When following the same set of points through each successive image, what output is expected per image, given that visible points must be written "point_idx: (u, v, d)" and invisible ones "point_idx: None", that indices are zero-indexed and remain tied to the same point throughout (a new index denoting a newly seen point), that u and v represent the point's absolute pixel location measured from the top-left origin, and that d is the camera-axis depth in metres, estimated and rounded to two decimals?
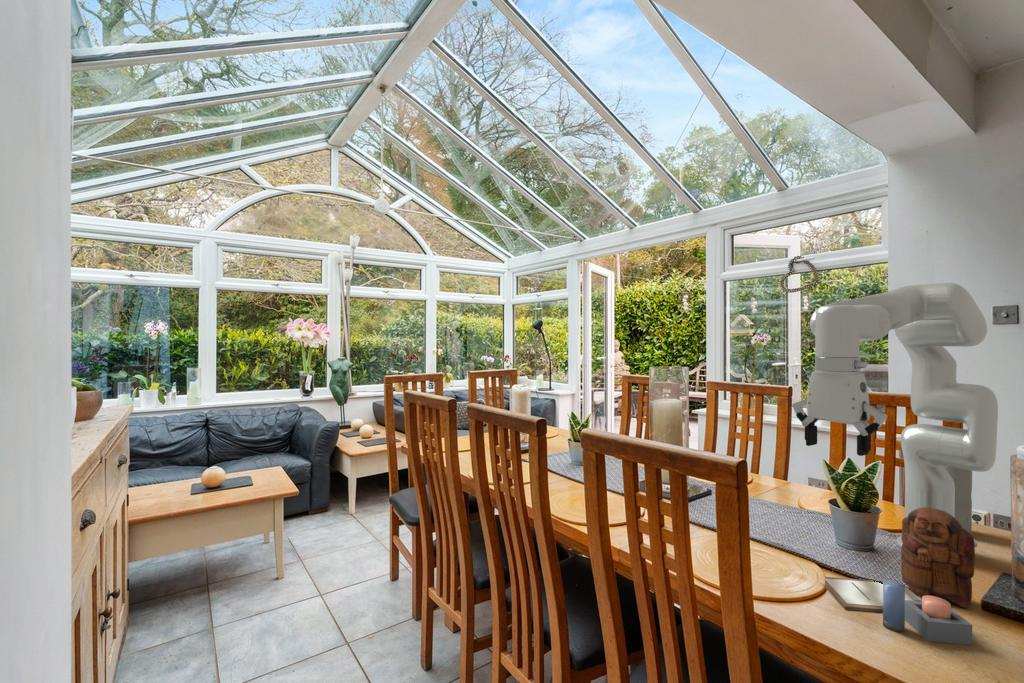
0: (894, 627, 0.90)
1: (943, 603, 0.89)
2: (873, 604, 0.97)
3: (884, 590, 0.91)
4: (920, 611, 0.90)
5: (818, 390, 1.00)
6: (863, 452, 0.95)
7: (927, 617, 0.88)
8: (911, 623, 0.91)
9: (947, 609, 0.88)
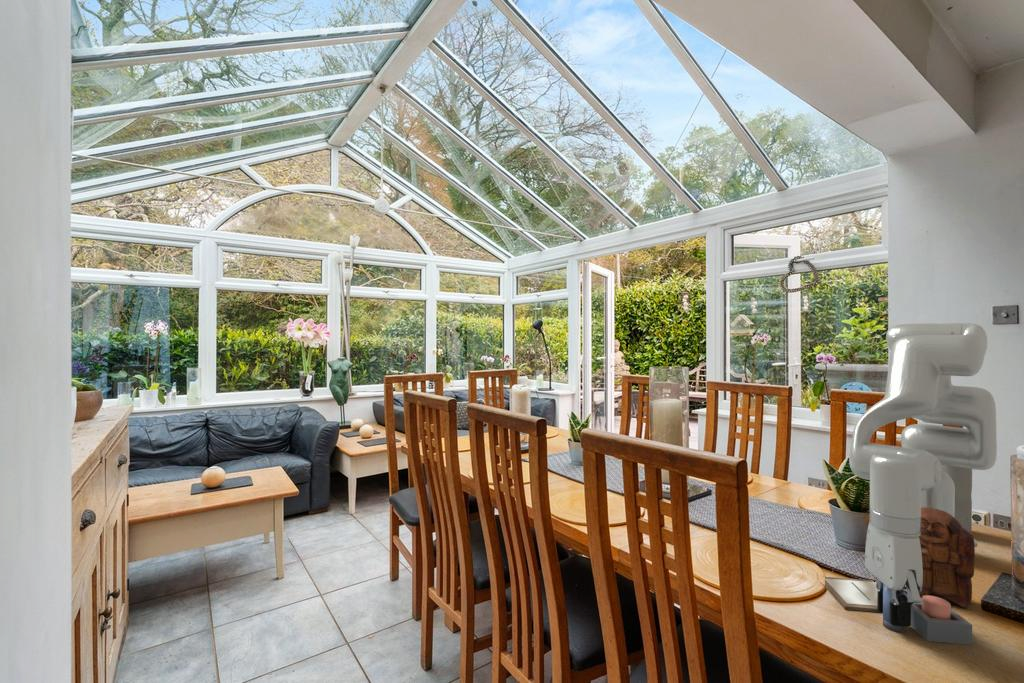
0: (894, 627, 0.90)
1: (943, 603, 0.89)
2: (873, 604, 0.97)
3: (884, 590, 0.91)
4: (920, 611, 0.90)
5: None
6: None
7: (927, 617, 0.88)
8: (911, 623, 0.91)
9: (947, 609, 0.88)
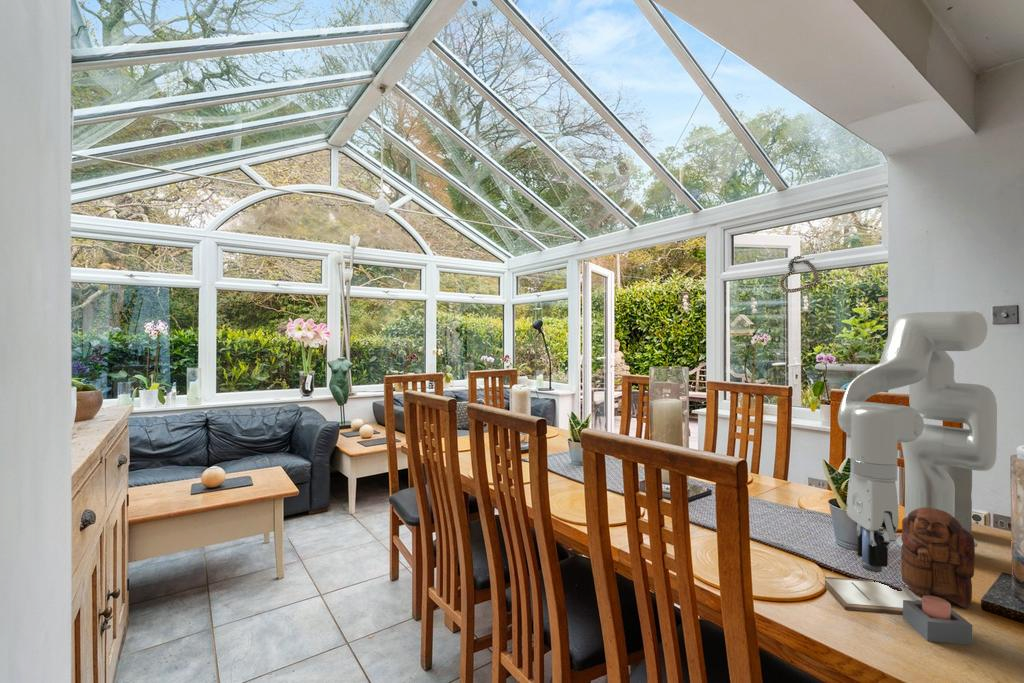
0: (872, 568, 0.96)
1: (943, 603, 0.89)
2: (873, 604, 0.97)
3: (863, 534, 0.98)
4: (920, 611, 0.90)
5: None
6: None
7: (927, 617, 0.88)
8: (911, 623, 0.91)
9: (947, 609, 0.88)
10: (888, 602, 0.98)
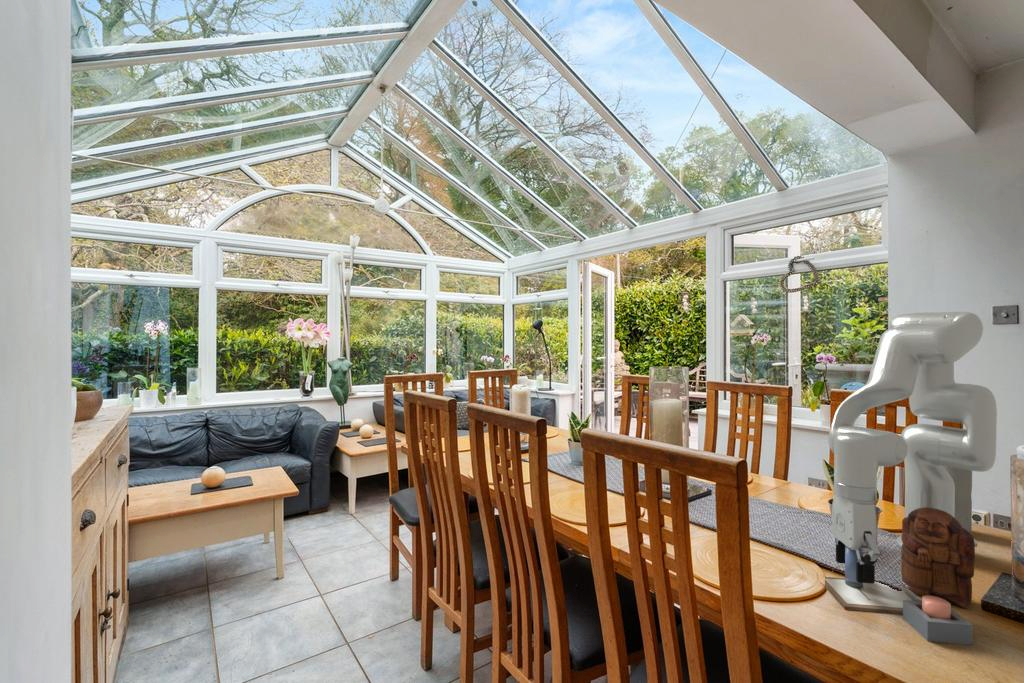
0: (854, 584, 1.03)
1: (943, 603, 0.89)
2: (873, 604, 0.97)
3: (846, 552, 1.05)
4: (920, 611, 0.90)
5: None
6: None
7: (927, 617, 0.88)
8: (911, 623, 0.91)
9: (947, 609, 0.88)
10: (888, 602, 0.98)
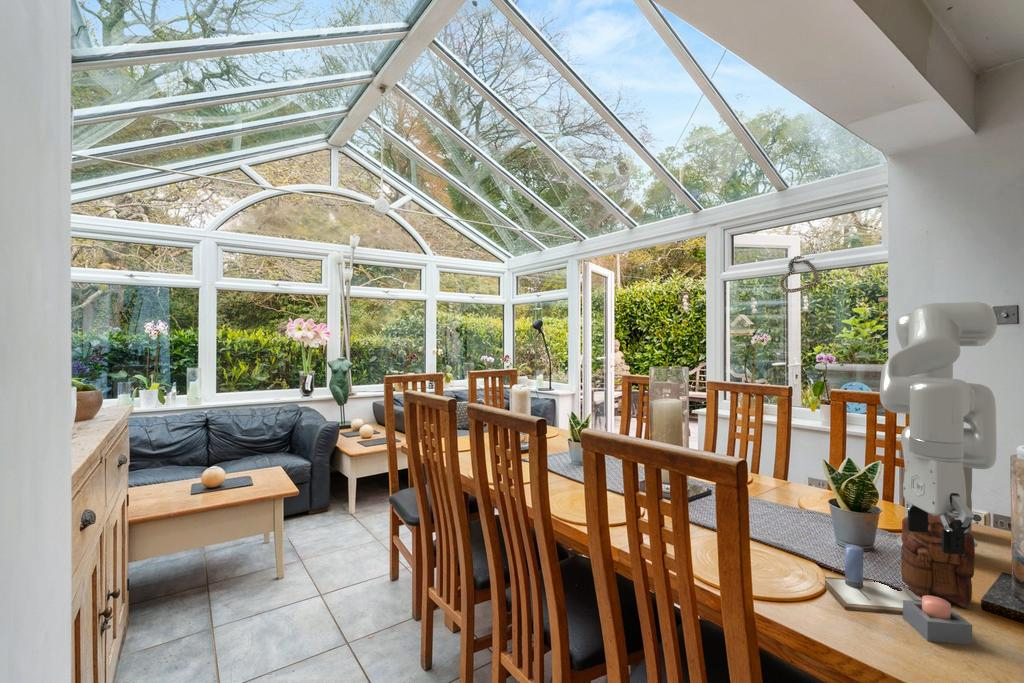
0: (854, 584, 1.03)
1: (943, 603, 0.89)
2: (873, 604, 0.97)
3: (846, 552, 1.05)
4: (920, 611, 0.90)
5: None
6: None
7: (927, 617, 0.88)
8: (911, 623, 0.91)
9: (947, 609, 0.88)
10: (888, 602, 0.98)
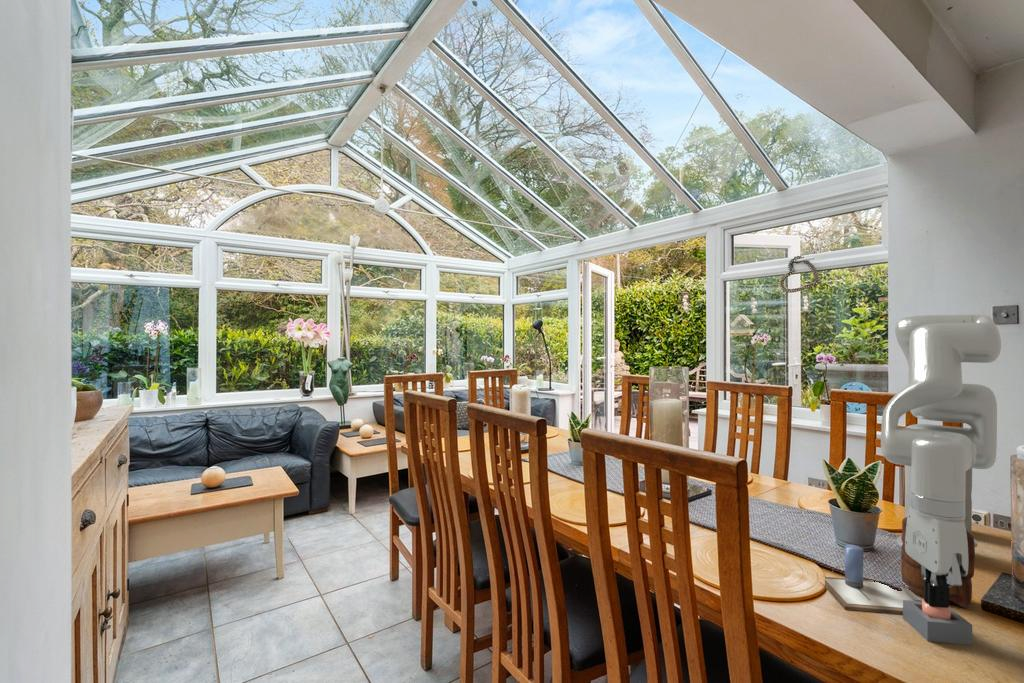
0: (854, 584, 1.03)
1: None
2: (873, 604, 0.97)
3: (846, 552, 1.05)
4: (920, 611, 0.90)
5: None
6: None
7: (927, 617, 0.88)
8: (911, 623, 0.91)
9: (947, 612, 0.88)
10: (888, 602, 0.98)
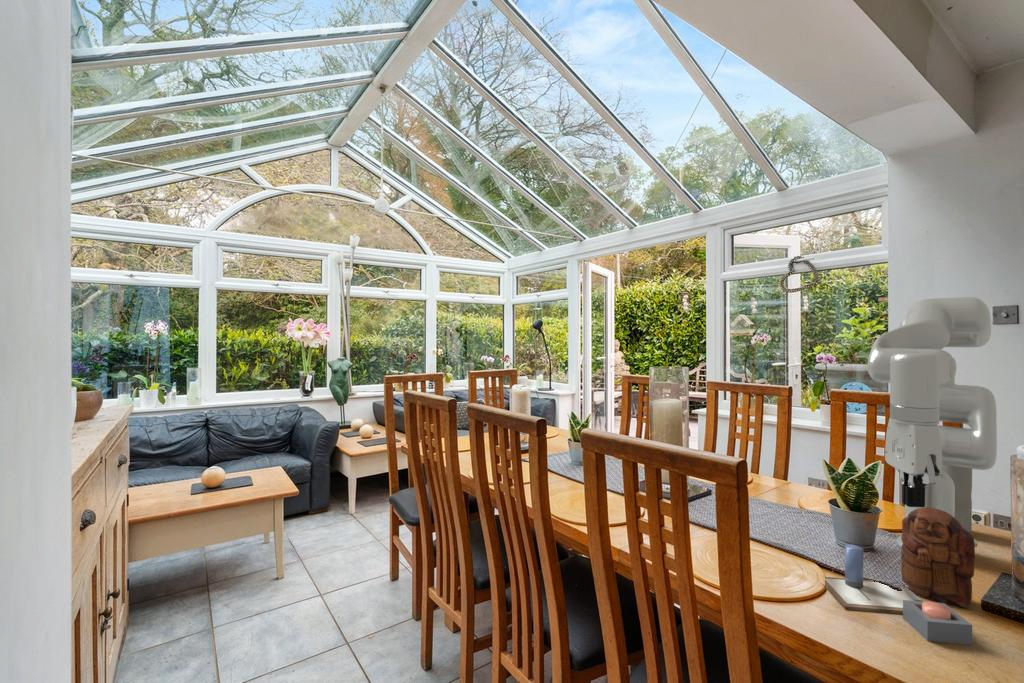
0: (854, 584, 1.03)
1: (943, 609, 0.89)
2: (873, 604, 0.97)
3: (846, 552, 1.05)
4: (920, 611, 0.90)
5: None
6: None
7: (927, 617, 0.88)
8: (911, 623, 0.91)
9: (947, 615, 0.88)
10: (888, 602, 0.98)
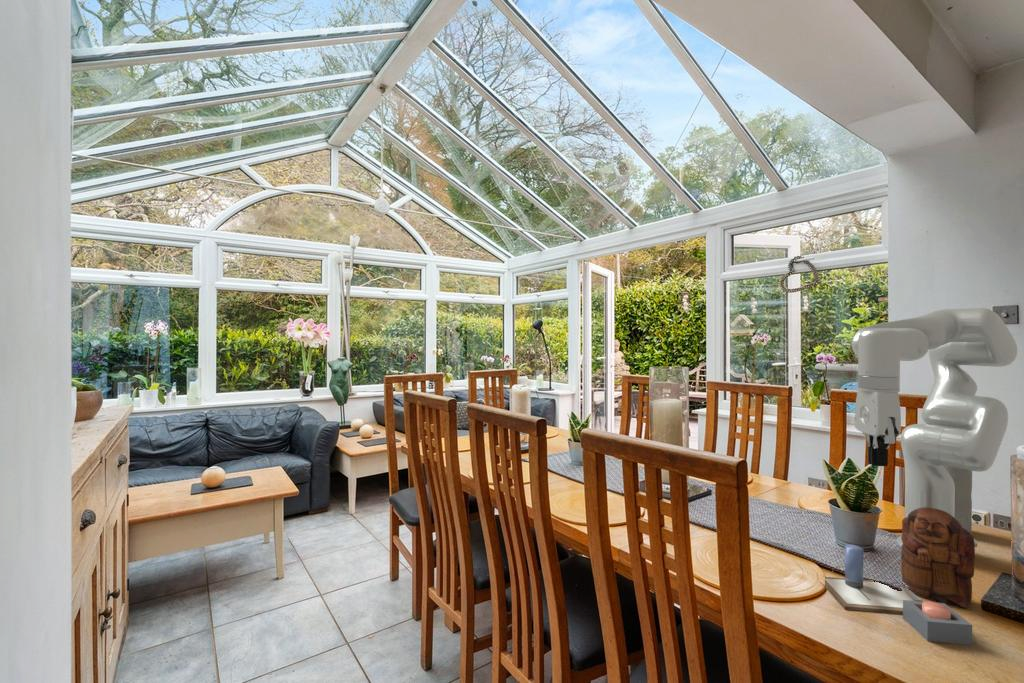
0: (854, 584, 1.03)
1: (943, 609, 0.89)
2: (873, 604, 0.97)
3: (846, 552, 1.05)
4: (920, 611, 0.90)
5: None
6: None
7: (927, 617, 0.88)
8: (911, 623, 0.91)
9: (947, 615, 0.88)
10: (888, 602, 0.98)
